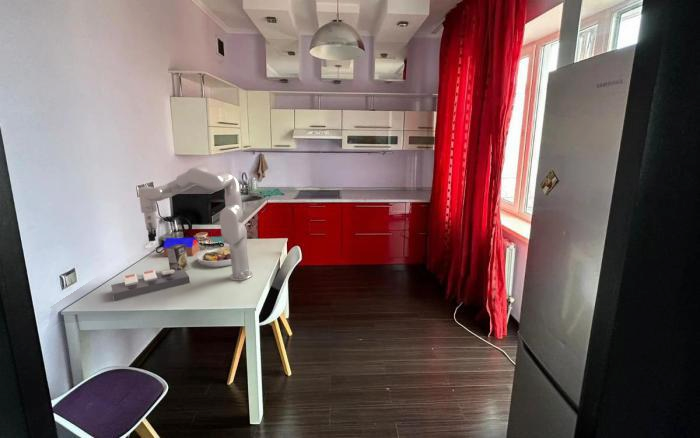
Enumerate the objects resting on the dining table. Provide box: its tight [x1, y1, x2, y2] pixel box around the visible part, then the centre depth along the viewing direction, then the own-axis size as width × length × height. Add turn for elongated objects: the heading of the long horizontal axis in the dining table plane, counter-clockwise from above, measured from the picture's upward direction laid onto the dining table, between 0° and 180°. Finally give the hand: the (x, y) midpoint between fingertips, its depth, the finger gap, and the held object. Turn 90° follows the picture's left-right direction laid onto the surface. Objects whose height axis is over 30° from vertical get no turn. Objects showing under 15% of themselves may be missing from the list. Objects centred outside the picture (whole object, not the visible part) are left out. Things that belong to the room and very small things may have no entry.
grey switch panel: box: [111, 269, 191, 302], centre depth 201 cm, size 14×36×4 cm, turn 125°
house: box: [162, 237, 201, 258], centre depth 257 cm, size 12×20×12 cm, turn 89°
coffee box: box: [167, 244, 190, 272], centre depth 222 cm, size 9×6×16 cm
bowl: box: [197, 246, 231, 268], centre depth 241 cm, size 30×30×8 cm
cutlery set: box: [209, 235, 226, 250], centre depth 280 cm, size 20×30×2 cm, turn 5°
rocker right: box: [160, 269, 175, 276], centre depth 207 cm, size 8×6×2 cm
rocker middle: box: [141, 269, 157, 282], centre depth 202 cm, size 8×6×2 cm
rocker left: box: [122, 273, 139, 286], centre depth 197 cm, size 8×6×2 cm
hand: (152, 238), depth 209 cm, fingers open, 9 cm apart
